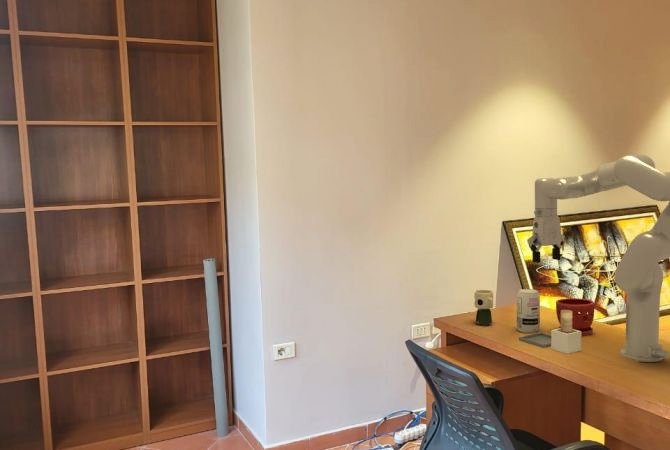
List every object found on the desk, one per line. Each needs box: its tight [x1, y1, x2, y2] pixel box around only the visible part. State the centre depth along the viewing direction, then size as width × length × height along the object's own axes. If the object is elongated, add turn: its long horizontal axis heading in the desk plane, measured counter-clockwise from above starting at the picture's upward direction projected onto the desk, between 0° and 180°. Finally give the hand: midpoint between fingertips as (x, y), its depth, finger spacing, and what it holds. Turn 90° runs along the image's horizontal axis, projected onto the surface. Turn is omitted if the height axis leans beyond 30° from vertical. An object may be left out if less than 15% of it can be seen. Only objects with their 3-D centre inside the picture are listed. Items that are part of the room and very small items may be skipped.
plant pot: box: [555, 297, 595, 337], centre depth 229 cm, size 13×13×12 cm
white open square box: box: [550, 327, 582, 355], centre depth 208 cm, size 7×7×7 cm
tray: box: [518, 332, 551, 349], centre depth 219 cm, size 11×11×2 cm
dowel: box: [560, 310, 572, 334], centre depth 208 cm, size 4×4×13 cm
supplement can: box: [516, 288, 541, 334], centre depth 234 cm, size 8×8×15 cm
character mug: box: [473, 289, 494, 326], centre depth 245 cm, size 11×7×13 cm, turn 21°
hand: (546, 260), depth 225 cm, fingers open, 9 cm apart
